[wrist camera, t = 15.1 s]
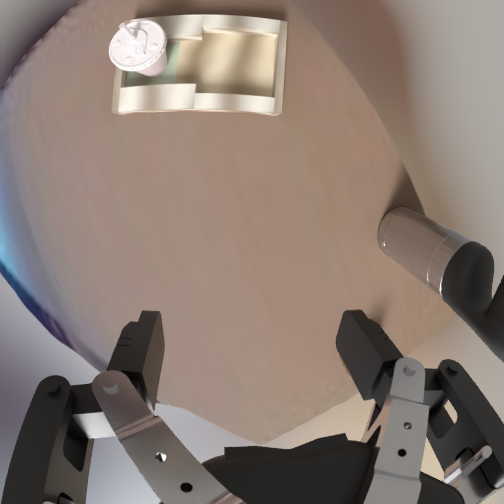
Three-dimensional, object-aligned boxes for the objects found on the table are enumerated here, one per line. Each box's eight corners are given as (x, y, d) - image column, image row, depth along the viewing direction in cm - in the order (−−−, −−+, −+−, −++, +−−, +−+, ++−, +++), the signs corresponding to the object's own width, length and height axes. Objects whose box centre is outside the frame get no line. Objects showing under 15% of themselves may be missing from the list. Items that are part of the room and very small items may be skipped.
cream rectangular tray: (281, 30, 30) (287, 21, 27) (275, 115, 36) (281, 113, 32) (131, 29, 27) (124, 20, 24) (120, 114, 33) (111, 112, 29)
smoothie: (166, 37, 28) (144, -8, 15) (184, 71, 31) (168, 35, 18) (125, 59, 28) (85, 27, 16) (142, 94, 31) (104, 71, 18)
